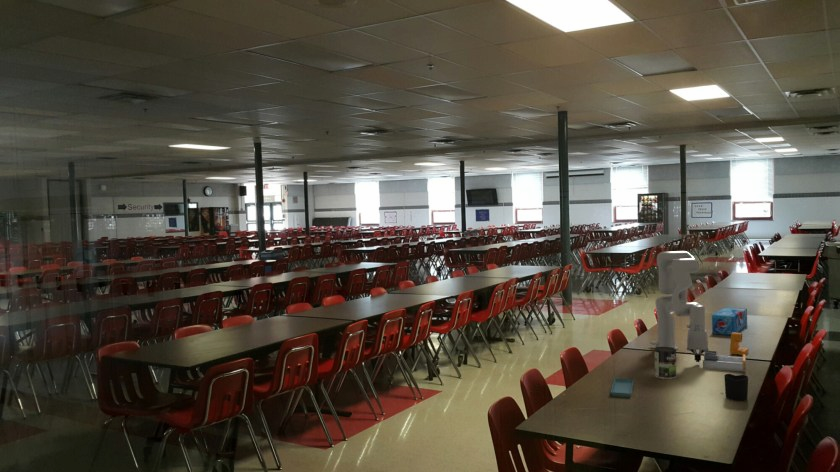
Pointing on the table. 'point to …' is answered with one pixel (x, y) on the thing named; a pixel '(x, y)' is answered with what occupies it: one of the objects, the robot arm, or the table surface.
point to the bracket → (737, 344)
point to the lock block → (711, 356)
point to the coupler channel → (726, 363)
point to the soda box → (729, 320)
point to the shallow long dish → (622, 387)
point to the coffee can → (665, 362)
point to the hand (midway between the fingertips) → (697, 361)
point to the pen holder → (736, 387)
